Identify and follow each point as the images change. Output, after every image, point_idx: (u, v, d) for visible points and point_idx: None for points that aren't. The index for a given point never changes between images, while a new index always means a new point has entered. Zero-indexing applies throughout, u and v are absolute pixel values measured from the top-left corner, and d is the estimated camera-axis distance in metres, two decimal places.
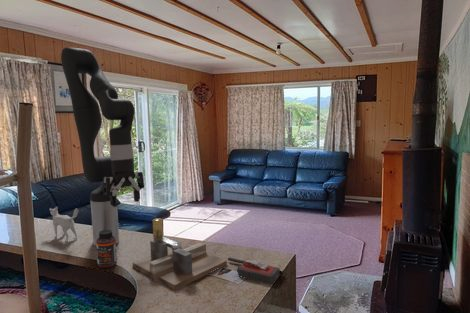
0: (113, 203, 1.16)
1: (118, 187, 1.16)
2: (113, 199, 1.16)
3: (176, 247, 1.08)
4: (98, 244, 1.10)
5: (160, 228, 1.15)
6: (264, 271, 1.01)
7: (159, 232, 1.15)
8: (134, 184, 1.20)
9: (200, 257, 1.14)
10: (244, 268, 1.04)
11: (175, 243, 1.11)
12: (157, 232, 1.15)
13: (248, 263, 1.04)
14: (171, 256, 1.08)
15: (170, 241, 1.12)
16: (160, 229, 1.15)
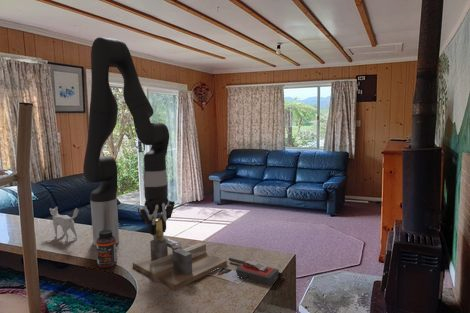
0: (152, 232, 1.14)
1: (155, 215, 1.13)
2: (152, 228, 1.14)
3: (176, 247, 1.08)
4: (98, 244, 1.10)
5: (160, 228, 1.15)
6: (262, 272, 1.01)
7: (159, 232, 1.15)
8: (164, 212, 1.15)
9: (200, 257, 1.14)
10: (243, 269, 1.03)
11: (175, 243, 1.11)
12: (157, 232, 1.15)
13: (247, 264, 1.04)
14: (171, 256, 1.08)
15: (170, 241, 1.12)
16: (160, 229, 1.15)
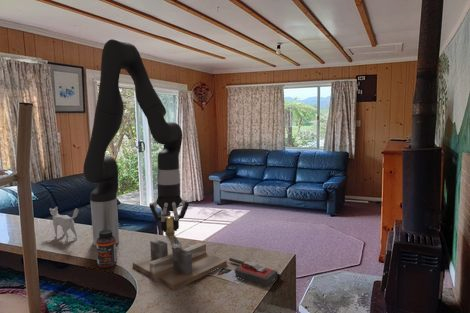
0: (162, 228, 1.17)
1: (164, 213, 1.16)
2: (162, 224, 1.17)
3: (174, 247, 1.08)
4: (98, 244, 1.10)
5: (170, 226, 1.17)
6: (260, 273, 1.00)
7: (169, 229, 1.17)
8: (175, 211, 1.17)
9: (200, 257, 1.14)
10: (241, 269, 1.03)
11: (176, 243, 1.11)
12: (168, 229, 1.17)
13: (246, 264, 1.04)
14: (171, 256, 1.08)
15: (174, 240, 1.13)
16: (170, 227, 1.17)
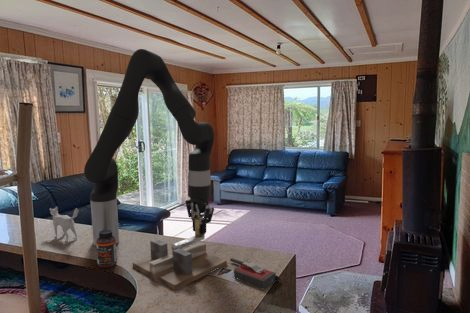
0: (193, 227, 1.18)
1: (191, 212, 1.16)
2: (193, 223, 1.18)
3: None
4: (98, 244, 1.10)
5: (196, 227, 1.16)
6: (258, 275, 0.99)
7: (195, 230, 1.16)
8: (198, 214, 1.14)
9: (200, 257, 1.14)
10: (239, 270, 1.02)
11: (179, 243, 1.10)
12: (195, 230, 1.17)
13: (244, 265, 1.03)
14: (171, 256, 1.08)
15: (185, 241, 1.12)
16: (196, 228, 1.16)
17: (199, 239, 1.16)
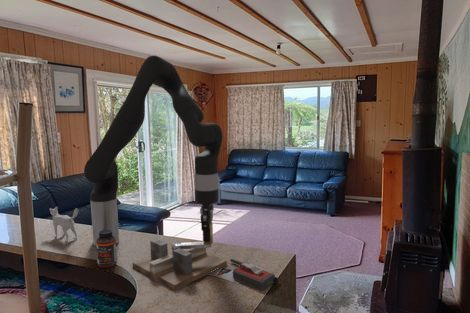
0: None
1: None
2: None
3: None
4: (98, 244, 1.10)
5: None
6: (256, 276, 0.98)
7: None
8: None
9: (200, 257, 1.14)
10: (238, 271, 1.02)
11: (179, 244, 1.10)
12: None
13: (243, 266, 1.03)
14: (171, 256, 1.08)
15: (187, 244, 1.10)
16: None
17: (204, 246, 1.10)
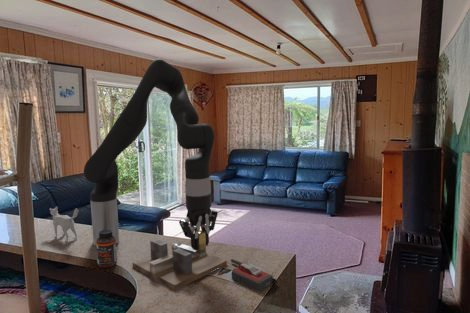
0: None
1: None
2: None
3: None
4: (98, 244, 1.10)
5: None
6: (254, 277, 0.98)
7: None
8: None
9: (200, 257, 1.14)
10: (237, 271, 1.02)
11: (178, 245, 1.09)
12: None
13: (242, 267, 1.02)
14: (171, 256, 1.08)
15: (184, 247, 1.08)
16: None
17: (194, 253, 1.04)
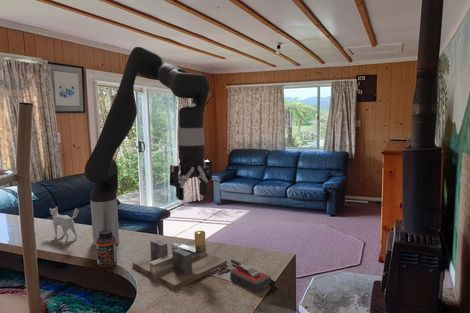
0: None
1: None
2: None
3: None
4: (98, 244, 1.10)
5: None
6: (252, 278, 0.97)
7: None
8: None
9: (200, 257, 1.14)
10: (235, 272, 1.01)
11: (178, 245, 1.09)
12: None
13: (240, 267, 1.02)
14: (171, 256, 1.08)
15: (184, 247, 1.08)
16: None
17: (194, 253, 1.04)
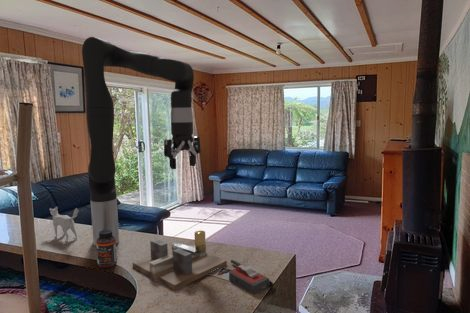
0: None
1: None
2: None
3: None
4: (98, 244, 1.10)
5: None
6: (250, 279, 0.97)
7: None
8: None
9: (200, 257, 1.14)
10: (234, 272, 1.01)
11: (178, 245, 1.09)
12: None
13: (239, 268, 1.01)
14: (171, 256, 1.08)
15: (184, 247, 1.08)
16: None
17: (194, 253, 1.04)
